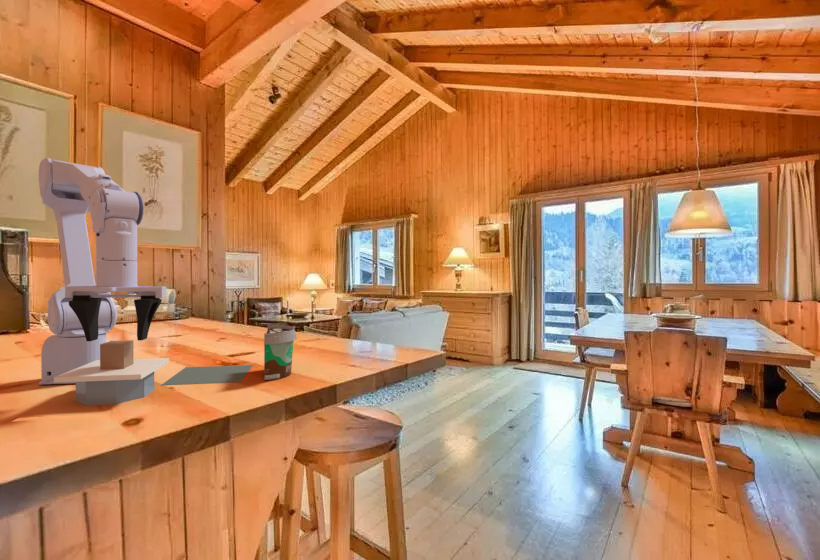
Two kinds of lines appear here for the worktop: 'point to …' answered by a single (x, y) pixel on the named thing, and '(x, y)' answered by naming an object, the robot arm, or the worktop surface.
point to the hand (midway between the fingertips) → (117, 339)
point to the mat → (209, 375)
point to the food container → (278, 352)
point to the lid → (114, 365)
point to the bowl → (113, 390)
